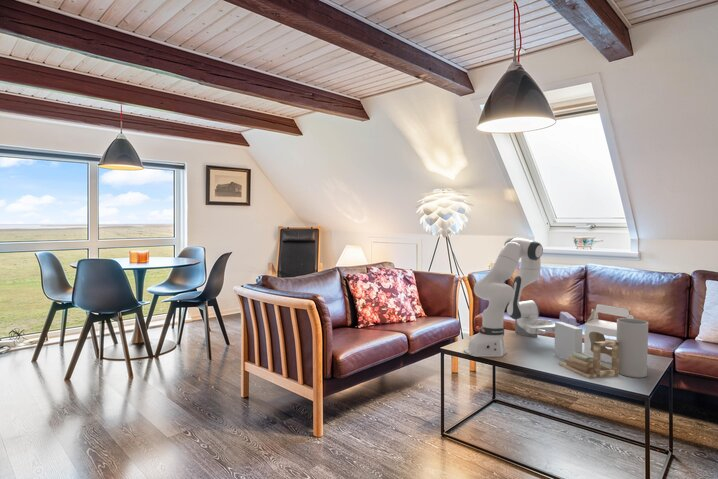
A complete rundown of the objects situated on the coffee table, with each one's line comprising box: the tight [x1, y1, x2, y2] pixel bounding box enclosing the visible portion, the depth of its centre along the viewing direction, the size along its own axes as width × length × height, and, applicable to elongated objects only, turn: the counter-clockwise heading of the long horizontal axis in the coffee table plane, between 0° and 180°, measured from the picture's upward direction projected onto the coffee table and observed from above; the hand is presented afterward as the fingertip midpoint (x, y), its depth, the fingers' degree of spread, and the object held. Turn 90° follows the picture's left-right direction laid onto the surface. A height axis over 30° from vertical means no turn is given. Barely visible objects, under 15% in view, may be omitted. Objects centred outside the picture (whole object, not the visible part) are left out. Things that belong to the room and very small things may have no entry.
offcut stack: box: [566, 351, 594, 374], centre depth 210 cm, size 6×13×7 cm, turn 12°
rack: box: [558, 340, 619, 379], centre depth 213 cm, size 16×20×16 cm
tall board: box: [554, 321, 583, 361], centre depth 229 cm, size 4×16×18 cm, turn 12°
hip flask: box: [514, 319, 538, 338], centre depth 280 cm, size 16×4×20 cm, turn 32°
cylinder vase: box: [616, 317, 649, 379], centre depth 207 cm, size 12×12×25 cm
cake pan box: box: [558, 311, 577, 327], centre depth 257 cm, size 19×5×18 cm, turn 170°
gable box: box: [583, 303, 635, 364], centre depth 229 cm, size 22×13×28 cm, turn 32°
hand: (552, 332), depth 243 cm, fingers open, 8 cm apart
